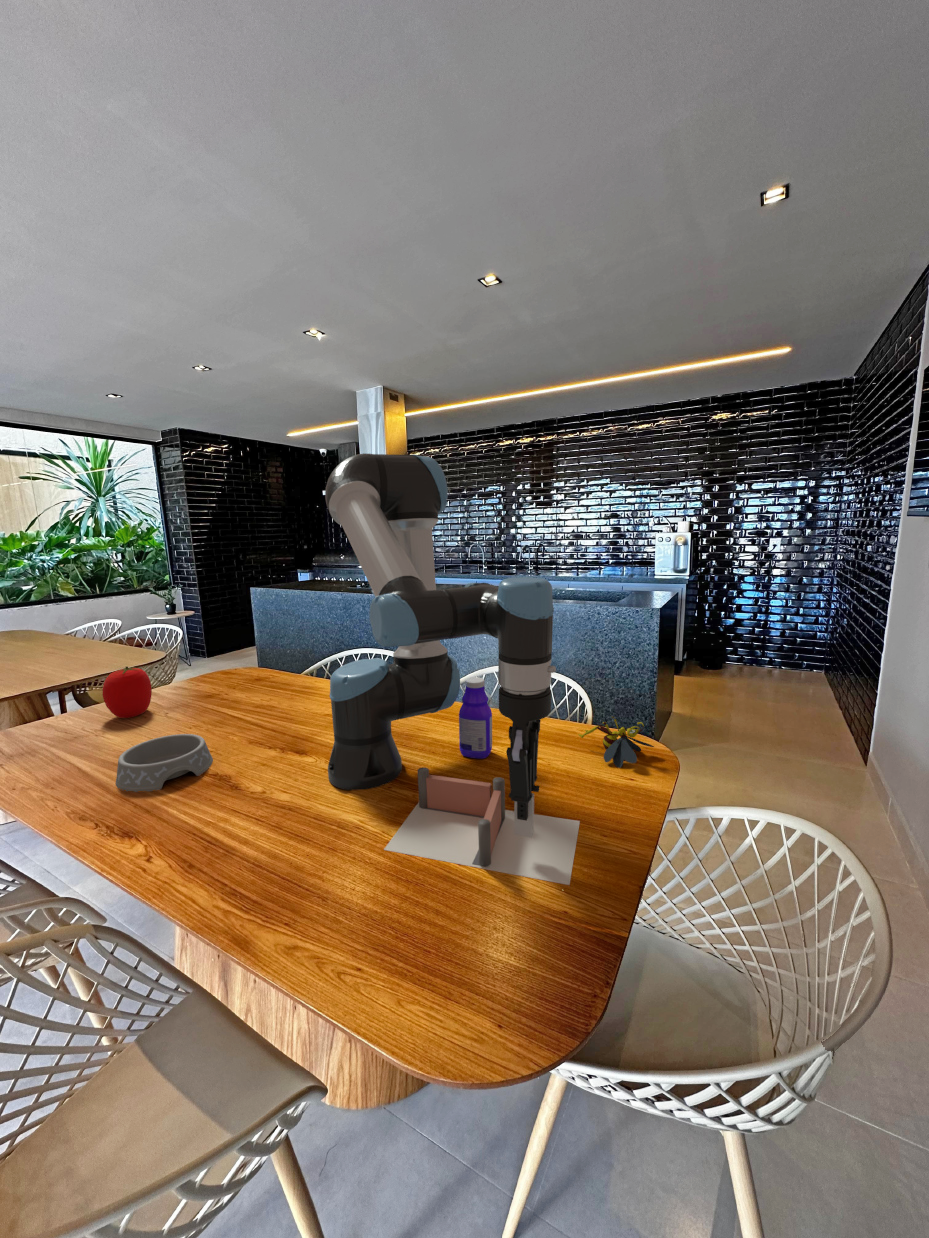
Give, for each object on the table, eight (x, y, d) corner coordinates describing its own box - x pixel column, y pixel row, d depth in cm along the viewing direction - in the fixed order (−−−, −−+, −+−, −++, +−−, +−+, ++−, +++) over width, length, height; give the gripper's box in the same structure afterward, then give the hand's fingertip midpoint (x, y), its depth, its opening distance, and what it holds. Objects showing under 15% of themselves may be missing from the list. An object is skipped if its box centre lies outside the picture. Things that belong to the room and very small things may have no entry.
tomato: (137, 723, 136) (129, 672, 134) (95, 724, 137) (87, 673, 134) (165, 706, 149) (158, 660, 146) (127, 707, 149) (119, 660, 146)
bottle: (495, 750, 114) (494, 676, 111) (488, 762, 109) (486, 684, 106) (465, 746, 117) (462, 674, 113) (456, 757, 112) (454, 682, 108)
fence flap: (492, 819, 87) (492, 784, 86) (503, 821, 86) (502, 785, 85) (477, 865, 75) (476, 825, 74) (489, 866, 75) (488, 826, 74)
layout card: (383, 851, 80) (383, 849, 80) (422, 799, 95) (422, 796, 95) (569, 887, 71) (569, 884, 71) (579, 823, 86) (579, 820, 86)
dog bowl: (106, 774, 109) (102, 751, 108) (196, 745, 122) (193, 725, 121) (128, 802, 97) (124, 777, 96) (225, 767, 111) (222, 744, 110)
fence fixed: (417, 807, 92) (415, 771, 90) (421, 801, 94) (420, 766, 92) (503, 821, 87) (503, 783, 85) (506, 814, 89) (505, 778, 87)
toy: (592, 707, 120) (655, 716, 109) (594, 740, 121) (657, 753, 110) (566, 722, 111) (632, 733, 101) (569, 757, 112) (634, 773, 102)
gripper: (543, 705, 65) (541, 866, 70) (557, 674, 77) (554, 813, 82) (487, 699, 68) (489, 855, 72) (509, 670, 80) (509, 806, 84)
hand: (524, 833), depth 77 cm, fingers closed
